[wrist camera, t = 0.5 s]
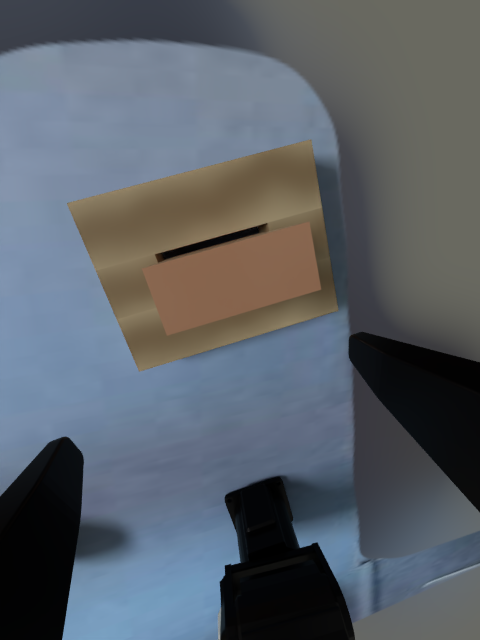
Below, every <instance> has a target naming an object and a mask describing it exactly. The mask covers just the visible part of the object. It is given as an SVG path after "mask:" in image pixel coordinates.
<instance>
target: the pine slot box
mask: <svg viewBox="0 0 480 640" xmlns="http://www.w3.org/2000/svg"><path fill="white" fill-rule="evenodd" d="M67 205H68V207H69V209H70V212H71V214H72V216H73V219H74V221H75V223H76V226H77V228H78V230H79V233H80V235H81V237H82V240H83V242H84V244H85V247H86V249H87V251H88V254H89V256H90V258H91V261H92V263H93V265H94V268H95V270H96V272H97V275H98V277H99V279H100V282H101V284H102V286H103V289H104V291H105V293H106V295H107V298H108V300H109V302H110V305H111V307H112V309H113V312H114V314H115V316H116V319H117V321H118V323H119V326H120V328H121V330H122V333H123V335H124V337H125V340H126V342H127V344H128V347H129V349H130V351H131V354H132V356H133V358H134V361H135V363H136V365H137V368H138V370H139V372H140V371H143V370H146V369H149V368H153V367H156V366H159V365H162V364H166V363H169V362H172V361H175V360H179V359H182V358H185V357H189V356H192V355H195V354H198V353H202V352H205V351H208V350H211V349H215V348H218V347H221V346H224V345H228V344H231V343H234V342H238V341H241V340H244V339H247V338H251V337H254V336H257V335H260V334H264V333H267V332H270V331H273V330H277V329H280V328H283V327H287V326H290V325H293V324H296V323H300V322H303V321H306V320H309V319H313V318H316V317H319V316H323V315H326V314H329V313H332V312H336V311H338V305H337V299H336V292H335V286H334V280H333V273H332V267H331V261H330V255H329V248H328V242H327V236H326V229H325V223H324V217H323V211H322V204H321V198H320V192H319V185H318V179H317V173H316V166H315V160H314V154H313V148H312V141H311V140H307V141H303V142H299V143H296V144H292V145H288V146H284V147H280V148H276V149H273V150H269V151H265V152H261V153H257V154H254V155H250V156H246V157H242V158H238V159H234V160H231V161H227V162H223V163H219V164H215V165H211V166H208V167H204V168H200V169H196V170H192V171H188V172H185V173H181V174H177V175H173V176H169V177H166V178H162V179H158V180H154V181H150V182H146V183H143V184H139V185H135V186H131V187H127V188H123V189H120V190H116V191H112V192H108V193H104V194H100V195H97V196H93V197H89V198H85V199H81V200H77V201H74V202H70V203H67ZM305 222H310V228H311V233H312V239H313V245H314V251H315V256H316V262H317V268H318V274H319V279H320V285H321V290H318V291H315V292H312V293H308V294H305V295H301V296H298V297H295V298H291V299H288V300H285V301H281V302H278V303H275V304H271V305H268V306H265V307H261V308H258V309H255V310H251V311H248V312H245V313H241V314H238V315H235V316H231V317H228V318H225V319H221V320H218V321H215V322H211V323H208V324H205V325H201V326H198V327H195V328H191V329H188V330H185V331H181V332H178V333H175V334H171V335H168V336H167V335H166V332H165V329H164V327H163V324H162V321H161V319H160V316H159V313H158V311H157V308H156V305H155V303H154V300H153V297H152V295H151V292H150V289H149V287H148V284H147V281H146V279H145V276H144V273H143V271H142V268H145V267H148V266H150V265H153V264H156V263H158V262H161V261H164V257H163V254H162V253H164V252H168V251H171V250H175V249H179V248H182V247H186V246H189V245H193V244H196V243H200V242H204V241H207V240H211V239H214V238H218V237H221V236H225V235H229V234H232V233H236V232H239V231H243V230H247V229H250V228H254V227H258V231H259V233H262V232H266V231H271V230H275V229H279V228H283V227H288V226H292V225H296V224H301V223H305Z"/></svg>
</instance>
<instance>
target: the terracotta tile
mask: <svg viewBox="0 0 480 640" xmlns="http://www.w3.org/2000/svg"><path fill="white" fill-rule="evenodd" d="M142 271H143V273H144V276H145V279H146V281H147V284H148V287H149V289H150V292H151V295H152V297H153V300H154V303H155V305H156V308H157V311H158V313H159V316H160V319H161V321H162V324H163V327H164V329H165V332H166V335H167V336H168V335H171V334H175V333H178V332H181V331H185V330H188V329H191V328H195V327H198V326H201V325H205V324H208V323H211V322H215V321H218V320H221V319H225V318H228V317H231V316H235V315H238V314H241V313H245V312H248V311H251V310H255V309H258V308H261V307H265V306H268V305H271V304H275V303H278V302H281V301H285V300H288V299H291V298H295V297H298V296H301V295H305V294H308V293H312V292H315V291H318V290H321V285H320V279H319V274H318V268H317V262H316V256H315V251H314V245H313V239H312V233H311V228H310V222H305V223H301V224H296V225H292V226H288V227H283V228H279V229H275V230H271V231H266V232H262V233H258V234H253V235H249V236H245V237H242V238H238V239H235V240H231V241H228V242H224V243H220V244H217V245H213V246H210V247H206V248H203V249H199V250H195V251H192V252H188V253H185V254H181V255H178V256H175V257H172V258H169V259H167V260H164V261H161V262H158V263H156V264H153V265H150V266H148V267H145V268H142Z"/></svg>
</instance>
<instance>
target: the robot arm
mask: <svg viewBox="0 0 480 640" xmlns="http://www.w3.org/2000/svg"><path fill="white" fill-rule="evenodd" d="M349 358H350V361H351V362H352V364H353V365H354V366H355V368H356V369H357V370H358V372H359V373H360V375H361V376H362V377H363V379H364V380H365V382H366V383H367V384H368V386H369V387H370V388H371V390H372V391H373V393H374V394H375V395H376V396H377V398H378V399H379V400H380V401H381V402H382V404H383V405H384V406H385V407H386V408H387V409H388V410H389V411H390V413H392V414H393V416H394V417H395V418H396V419H397V420H398V422H399V423H400V424H401V425H402V426H403V427H404V428H405V429H406V430H407V432H408V433H409V434H410V435H411V436H412V437H413V438H414V439H415V440H416V442H417V443H418V444H419V445H420V446H421V447H422V448H423V449H424V451H426V453H427V454H428V455H429V456H430V457H431V458H432V459H433V461H434V462H435V463H436V464H437V465H438V466H439V467H440V468H441V470H442V471H443V472H444V473H445V474H446V475H447V476H448V477H449V478H450V480H451V481H452V482H453V483H454V484H455V485H456V486H457V487H458V488H459V490H460V491H461V492H462V493H463V494H464V495H465V496H466V497H467V499H468V500H469V501H470V502H471V503H472V504H473V505H474V506H475V507H476V509H478V511H479V512H480V362H476V361H473V360H468V359H465V358H461V357H457V356H453V355H449V354H446V353H442V352H438V351H434V350H430V349H426V348H423V347H418V346H415V345H411V344H407V343H403V342H399V341H396V340H392V339H388V338H384V337H380V336H376V335H373V334H369V333H365V332H359V333H356V334H353V335H351V336H350V337H349ZM83 465H84V459H83V455H82V453H81V451H80V450H79V449H78V448H77V446H76V445H75V444H74V443H73V442H72V441H71V439H70V438H68V437H61V438H59V439H56V440H53V441H51V442H49V443H48V444H47V445H46V446H45V447H44V449H43V450H42V451H41V452H40V453H39V454H38V455H37V456H36V457H35V459H34V460H33V461H32V462H31V463H30V464H29V465H28V466H27V467H26V469H25V470H24V471H23V472H22V473H21V474H20V475H19V476H18V477H17V479H16V480H15V481H14V482H13V483H12V484H11V485H10V486H9V487H8V488H7V490H6V491H5V492H4V493H3V494H2V495H1V496H0V640H62V637H63V630H64V624H65V617H66V611H67V604H68V598H69V591H70V585H71V578H72V572H73V565H74V559H75V552H76V546H77V539H78V533H79V526H80V518H81V506H82V486H83ZM225 503H226V506H227V509H228V511H229V514H230V516H231V519H232V522H233V524H234V527H235V529H236V532H237V538H238V546H239V554H240V562H241V563H238V564H234V565H231V564H229V565H225V576H223V579H222V580H221V581H220V592H221V626H220V640H355V636H354V630H353V626H352V622H351V618H350V614H349V611H348V608H347V605H346V602H345V599H344V596H343V594H342V591H341V589H340V587H339V585H338V582H337V580H336V578H335V576H334V574H333V572H332V571H331V569H330V567H329V565H328V563H327V561H326V559H325V557H324V555H323V553H322V551H321V549H320V547H319V545H318V543H313V544H312V545H310V546H306V547H302V548H300V547H299V544H298V541H297V538H296V535H295V532H294V529H293V526H292V523H291V522H292V521H293V516H292V512H291V509H290V505H289V502H288V498H287V495H286V491H285V488H284V484H283V481H282V479H281V478H280V477H276V478H274V479H271V480H268V481H265V482H262V483H259V484H256V485H253V486H250V487H247V488H244V489H241V490H238V491H236V492H233V493H230V494H227V495H226V496H225Z"/></svg>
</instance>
